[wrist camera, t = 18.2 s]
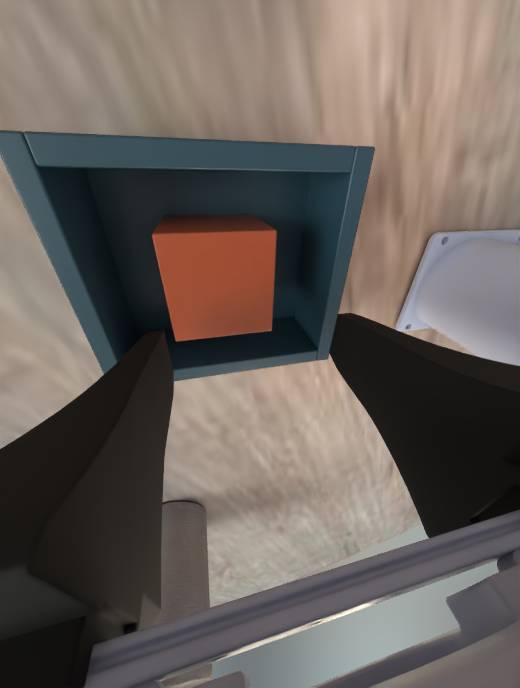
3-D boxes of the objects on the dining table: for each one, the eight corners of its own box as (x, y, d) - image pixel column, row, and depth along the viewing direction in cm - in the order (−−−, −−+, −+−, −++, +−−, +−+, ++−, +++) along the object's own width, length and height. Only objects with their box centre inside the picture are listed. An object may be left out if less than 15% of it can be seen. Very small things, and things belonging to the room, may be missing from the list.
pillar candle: (185, 535, 36) (182, 716, 24) (114, 535, 31) (66, 763, 19) (219, 502, 32) (236, 694, 21) (146, 496, 28) (112, 743, 16)
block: (252, 214, 13) (277, 230, 9) (253, 294, 16) (272, 331, 12) (162, 215, 12) (151, 233, 8) (179, 300, 15) (175, 342, 11)
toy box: (318, 154, 13) (376, 146, 9) (298, 319, 19) (328, 359, 15) (63, 145, 11) (-14, 128, 7) (130, 337, 16) (111, 390, 12)
